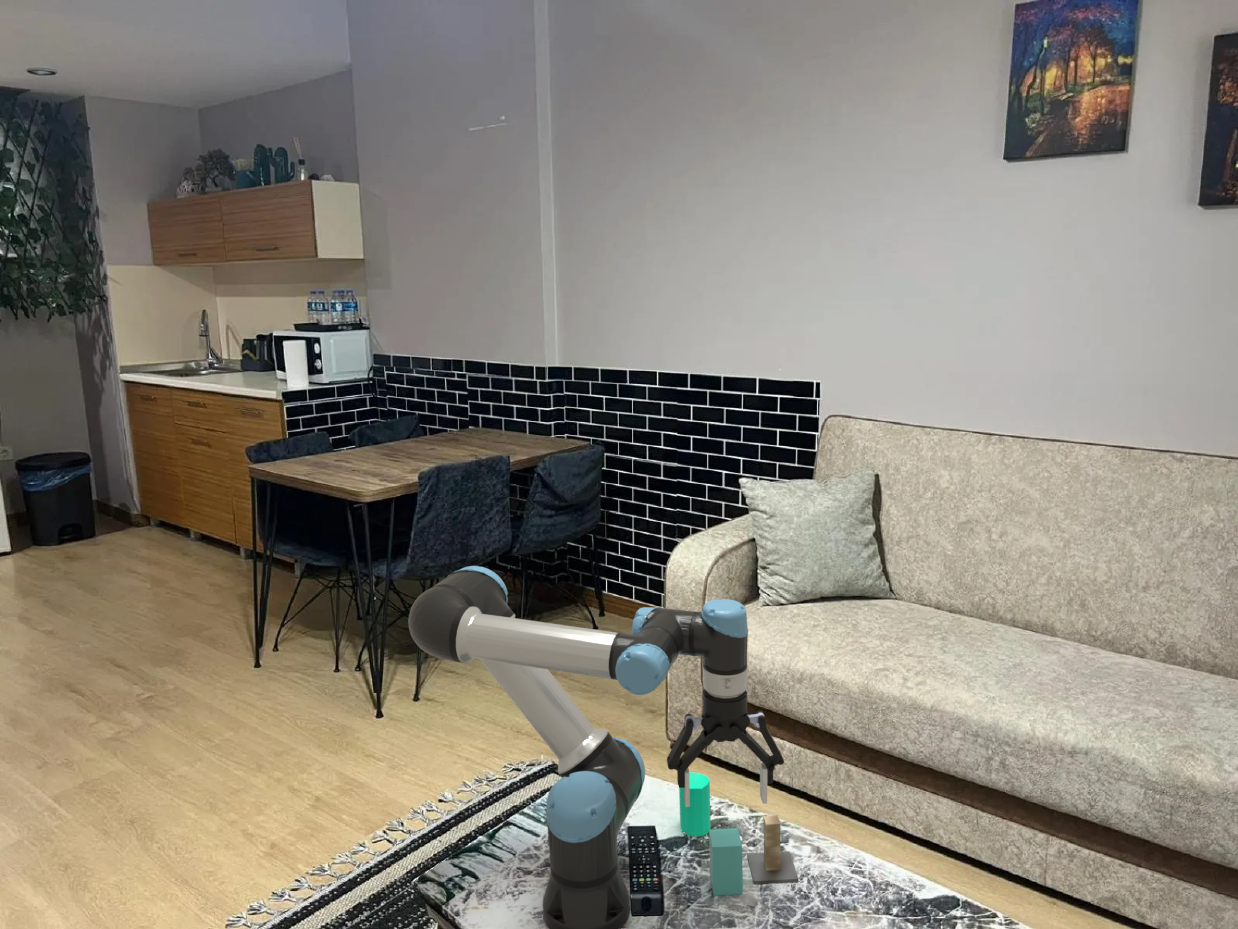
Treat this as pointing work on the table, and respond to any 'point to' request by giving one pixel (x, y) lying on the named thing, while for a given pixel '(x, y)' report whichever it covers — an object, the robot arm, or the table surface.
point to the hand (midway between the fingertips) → (725, 801)
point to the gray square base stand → (772, 857)
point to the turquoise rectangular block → (726, 861)
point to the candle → (696, 806)
